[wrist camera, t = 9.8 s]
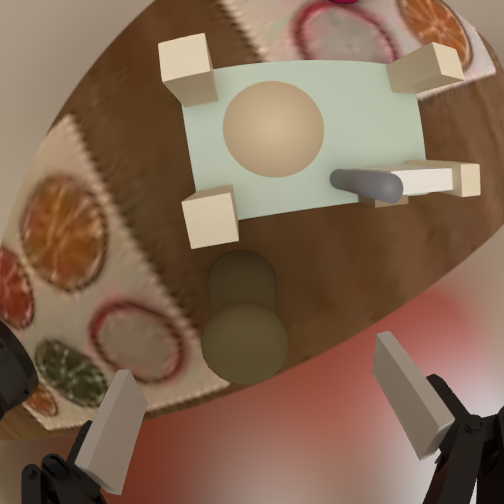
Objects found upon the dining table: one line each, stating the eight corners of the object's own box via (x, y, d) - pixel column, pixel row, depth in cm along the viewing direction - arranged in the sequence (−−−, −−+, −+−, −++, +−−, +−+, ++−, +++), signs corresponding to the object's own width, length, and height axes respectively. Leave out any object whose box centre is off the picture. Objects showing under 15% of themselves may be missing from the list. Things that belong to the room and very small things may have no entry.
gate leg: (354, 191, 21) (401, 204, 14) (351, 164, 20) (398, 166, 13) (426, 184, 21) (480, 195, 14) (424, 159, 20) (479, 164, 13)
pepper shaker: (224, 238, 24) (216, 297, 13) (287, 267, 25) (321, 338, 14) (197, 296, 25) (176, 379, 15) (256, 321, 26) (268, 407, 16)
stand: (205, 221, 23) (184, 260, 13) (182, 84, 19) (148, 34, 10) (416, 191, 23) (489, 209, 14) (398, 72, 19) (465, 44, 10)
